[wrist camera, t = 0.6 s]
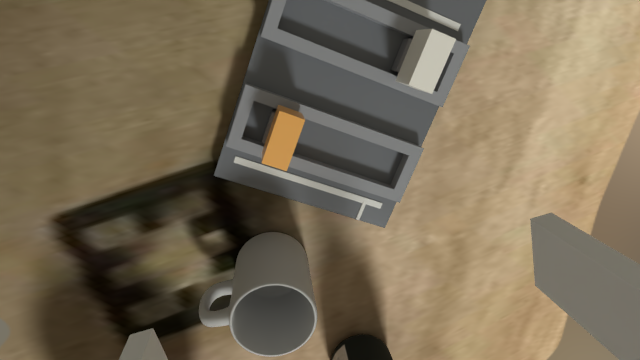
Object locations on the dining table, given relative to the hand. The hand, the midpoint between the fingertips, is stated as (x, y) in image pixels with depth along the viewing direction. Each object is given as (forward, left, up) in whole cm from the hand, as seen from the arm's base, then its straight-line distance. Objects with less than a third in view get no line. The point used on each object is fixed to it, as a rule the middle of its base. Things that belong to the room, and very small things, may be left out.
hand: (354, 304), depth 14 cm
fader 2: (+9, +11, -30) cm, 33 cm away
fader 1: (-1, 0, -30) cm, 30 cm away
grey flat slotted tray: (+4, +6, -32) cm, 33 cm away
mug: (+2, -17, -33) cm, 37 cm away
